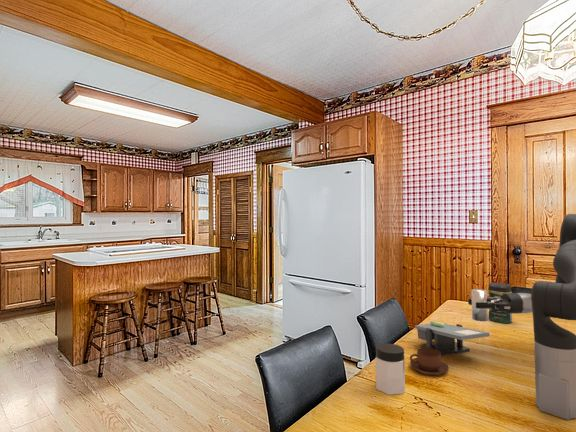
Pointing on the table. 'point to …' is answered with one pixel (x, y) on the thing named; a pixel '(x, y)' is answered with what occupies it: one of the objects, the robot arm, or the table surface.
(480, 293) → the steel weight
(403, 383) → the jar
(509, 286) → the coffee jar
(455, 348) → the pivot stand
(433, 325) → the platform
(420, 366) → the cup and saucer
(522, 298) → the robot arm
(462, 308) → the table surface
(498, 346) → the table surface
